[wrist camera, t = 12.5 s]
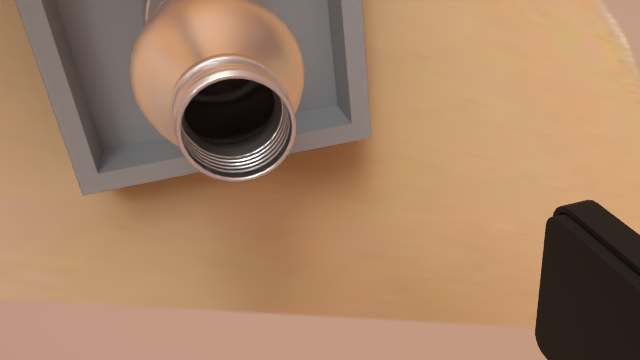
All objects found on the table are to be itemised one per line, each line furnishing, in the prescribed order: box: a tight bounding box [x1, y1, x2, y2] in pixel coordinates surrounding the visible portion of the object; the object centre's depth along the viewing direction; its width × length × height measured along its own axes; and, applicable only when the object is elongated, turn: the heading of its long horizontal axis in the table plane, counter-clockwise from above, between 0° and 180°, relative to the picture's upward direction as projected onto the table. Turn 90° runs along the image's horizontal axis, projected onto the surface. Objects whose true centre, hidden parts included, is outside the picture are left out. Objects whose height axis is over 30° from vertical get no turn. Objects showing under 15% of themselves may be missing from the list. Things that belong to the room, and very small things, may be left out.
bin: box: [15, 0, 371, 196], centre depth 34 cm, size 18×18×4 cm
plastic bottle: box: [130, 0, 305, 182], centre depth 26 cm, size 6×7×20 cm
